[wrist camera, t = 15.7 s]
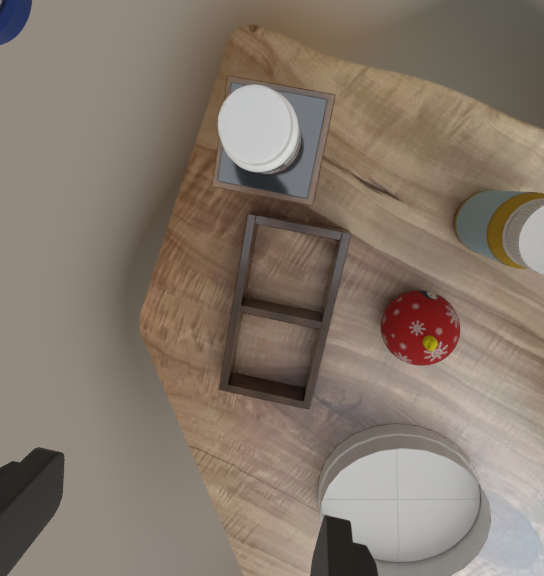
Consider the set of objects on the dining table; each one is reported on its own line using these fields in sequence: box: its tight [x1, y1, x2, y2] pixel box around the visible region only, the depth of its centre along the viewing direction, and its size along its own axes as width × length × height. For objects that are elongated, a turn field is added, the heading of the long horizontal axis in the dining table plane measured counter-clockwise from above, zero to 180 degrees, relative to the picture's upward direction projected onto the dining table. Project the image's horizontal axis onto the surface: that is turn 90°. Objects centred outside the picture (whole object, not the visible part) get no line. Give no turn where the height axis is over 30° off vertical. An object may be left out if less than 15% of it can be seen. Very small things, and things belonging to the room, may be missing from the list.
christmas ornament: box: [381, 291, 460, 365], centre depth 46 cm, size 9×9×10 cm
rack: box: [219, 211, 351, 409], centre depth 51 cm, size 12×23×4 cm, turn 169°
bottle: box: [454, 191, 544, 274], centre depth 40 cm, size 7×7×15 cm
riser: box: [212, 75, 336, 206], centre depth 39 cm, size 8×8×18 cm
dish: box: [318, 424, 491, 576], centre depth 55 cm, size 22×22×5 cm
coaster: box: [217, 82, 327, 199], centre depth 30 cm, size 7×7×1 cm
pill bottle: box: [218, 85, 301, 174], centre depth 26 cm, size 5×5×8 cm
